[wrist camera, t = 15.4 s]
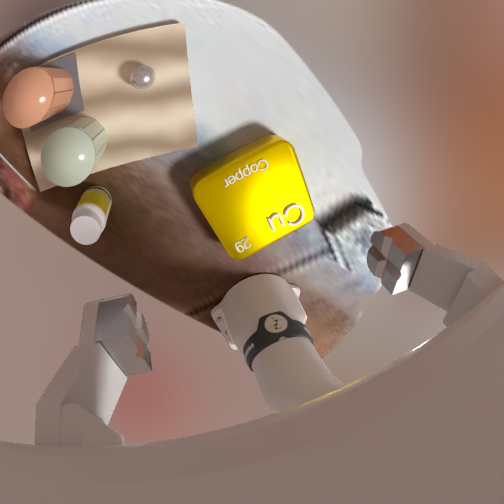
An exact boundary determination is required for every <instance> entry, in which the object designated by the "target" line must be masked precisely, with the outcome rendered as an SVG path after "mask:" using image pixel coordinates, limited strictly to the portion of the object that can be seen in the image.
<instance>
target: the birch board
mask: <svg viewBox="0 0 504 504" xmlns="http://www.w3.org/2000/svg"><path fill="white" fill-rule="evenodd" d="M73 53H76V60H77V68H78V76H79V83H80V89H81V95H82V101H83V107H84V111H81V112H78V113H76V114H73V115H70V116H68V117H65V118H63V119H60V120H58V121H55V122H53V123H50V124H48V125H46V126H44V127H41V128H39V129H37V130H35V131H33V132H31V129H30V127H28V128H22V132H23V136H24V140H25V144H26V148H27V151H28V155H29V158H30V162H31V165H32V168H33V172H34V175H35V178H36V181H37V184H38V187H39V189H40V192H42V191H44V190H47V189H49V188H52V187H55V186H57V185H56V184H54V183H53V182H51V181H50V180H49V179H48V178H47V176H46V175H45V173H44V171H43V169H42V166H41V151H42V148H43V145H44V143H45V141H46V140H47V138H48V137H49V136H50V135H51V134H52V133H53V132H54V131H55V130H57V129H59V128H61V127H62V126H64V125H66V124H68V123H70V122H71V121H73V120H76V119H79V118H82V117H89V118H93V119H96V120H98V122H99V123H100V124H101V125H102V126H103V127H104V129H105V131H106V136H107V144H106V148H105V151H104V154H103V155H102V157H101V158H100V160H99V161H98V163H97V164H96V166H95V167H94V169H93V170H92V171H91V173H90V174H92V173H95V172H98V171H101V170H105V169H108V168H111V167H115V166H118V165H122V164H125V163H129V162H133V161H136V160H140V159H144V158H148V157H152V156H156V155H160V154H165V153H169V152H174V151H178V150H183V149H188V148H193V147H198V142H197V135H196V127H195V120H194V112H193V103H192V95H191V86H190V77H189V68H188V58H187V48H186V37H185V25H184V22H183V23H176V24H170V25H164V26H158V27H153V28H148V29H143V30H139V31H134V32H130V33H126V34H122V35H118V36H115V37H111V38H108V39H105V40H101V41H98V42H95V43H92V44H89V45H86V46H83V47H81V48H78V49H75V50H73V51H70V52H68V53H65V54H63V55H60V56H58V57H56V58H53V59H51V60H49V61H47V62H44V63H42V64H40V65H38V66H36V67H43V66H45V65H47V64H49V63H51V62H54V61H56V60H58V59H61V58H63V57H65V56H68V55H70V54H73ZM142 65H146V66H150V67H151V68H153V70H154V71H155V74H156V77H155V81H154V83H153V84H152V85H151V86H150V87H148V88H146V89H136V88H135V87H133V86H132V84H131V82H130V76H131V73H132V72H133V70H134V69H135V68H137V67H139V66H142Z"/></svg>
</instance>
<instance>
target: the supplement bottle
mask: <svg viewBox="0 0 504 504" xmlns="http://www.w3.org/2000/svg"><path fill="white" fill-rule="evenodd" d="M111 204H112V199H111V196H110V194H109V192H108V191H107V190H106V189H105V188H103V187H101V186H92V187H89V188H88V189H86V190H85V191H84V193H83V194H82V196H81V198H80V200H79V202H78V204H77V206H76V208H75V210H74V212H73V215H72V222H71V225H70V232H71V235H72V237H73V238H74V240H75V241H77V242H78V243H80V244H83V245H90V244H93V243H95V242H96V241H97V240H98V238H99V237H100V234H101V233H102V232H103V230H104V228H105V226H106V222H107V219H108V215H109V212H110V208H111Z"/></svg>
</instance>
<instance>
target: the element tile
mask: <svg viewBox="0 0 504 504" xmlns="http://www.w3.org/2000/svg"><path fill="white" fill-rule="evenodd" d="M190 188H191V191H192V194H193V197H194V199H195V201H196V203H197V205H198V206H199V208H200V209H201V211H202V213H203V214H204V216H205V218H206V219H207V221H208V222H209V224H210V226H211V227H212V229H213V230H214V232H215V234H216V235H217V237H218V238H219V240H220V241H221V243H222V245H223V246H224V248H225V249H226V251H227V253H228V254H229V255H230V256H231V257H232V258H234V259H238V260H239V259H244V258H247V257H248V256H250V255H252V254H254V253H256V252H257V251H259V250H261V249H263V248H265V247H267V246H268V245H270V244H272V243H274V242H276V241H277V240H279V239H281V238H283V237H285V236H287V235H288V234H290V233H292V232H294V231H296V230H297V229H299V228H301V227H303V226H305V225H306V224H308V223H309V222H310V221H311V220H312V218H313V216H314V207H313V204H312V201H311V198H310V195H309V191H308V188H307V185H306V182H305V179H304V176H303V173H302V170H301V167H300V164H299V162H298V159H297V156H296V153H295V150H294V148H293V146H292V145H291V144H290V143H289V142H288V141H287V140H285V139H283V138H281V137H279V136H277V135H274V134H272V135H266V136H264V137H261V138H259V139H257V140H255V141H253V142H251V143H249V144H247V145H245V146H243V147H241V148H239V149H237V150H235V151H233V152H231V153H229V154H227V155H225V156H224V157H222V158H220V159H218V160H216V161H214V162H212V163H210V164H209V165H207V166H205V167H203V168H201V169H200V170H198V171H196V172H195V173H194V174H193V176H192V177H191V179H190Z"/></svg>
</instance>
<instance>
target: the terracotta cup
mask: <svg viewBox="0 0 504 504" xmlns="http://www.w3.org/2000/svg"><path fill="white" fill-rule="evenodd" d="M73 89H74V87H73V80H72V78H71V75H70V74H69V73H68V72H67V71H66V70H65V69H61V68H54V67H30V68H26V69H24V70H22V71H20V72H19V73H17V74H16V75H15V76H14V77H13V78H12V79H11V81H10V82H9V84H8V85H7V87H6V90H5V92H4V96H3V112H4V115H5V118H6V119H7V121H8V122H9V123H10V124H11V125H13V126H14V127H17V128H28V127H30V126H32V125H35V124H37V123H39V122H41V121H43V120H45V119H48V118H50V117H52V116H55V115H57V114H59V113H61V112H62V111H63V110H64V109H65V107H66V106H67V105H68V104H69V102H70V100H71V97H72V94H73V91H74V90H73Z"/></svg>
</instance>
